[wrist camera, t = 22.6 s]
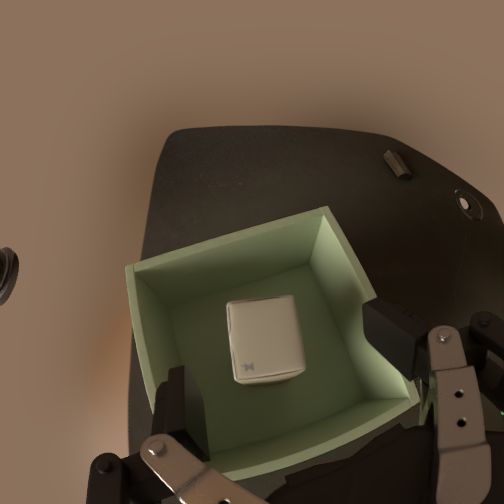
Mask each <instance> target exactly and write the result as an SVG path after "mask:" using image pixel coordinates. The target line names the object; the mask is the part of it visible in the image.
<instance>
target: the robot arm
mask: <svg viewBox="0 0 504 504" xmlns="http://www.w3.org/2000/svg"><path fill="white" fill-rule="evenodd" d="M9 268H10V259H9V256H8V254H7V253H5V252H4V251H2V250H1V249H0V291H1V289H2V288H3V286H4V284H5V282H6V280H7V277H8V273H9ZM362 317H363V332H364V336H365V338H366V340H367V342H368V343H369V344H370V345H371V346H372V347H373V348H374V349H375V350H376V351H378V352H379V353H380V354H381V355H382V356H383V357H384V358H385V359H386V360H387V361H388V362H389V363H390V364H391V365H392V366H393V367H394V368H395V369H397V370H398V371H399V372H400V373H401V374H402V375H403V376H404V377H405V378H406V379H407V380H408V381H409V382H411V381H412V380H414V379H415V378H417V377H419V378H420V379H421V381H420V419H419V424H418V426H413V427H409V428H406V429H404V428H403V427H402V425H401V424H400V423H399V424H397V425H396V426H394V427H392V428H391V429H389V430H387V431H386V432H384V433H382V434H380V435H379V436H377V437H375V438H374V439H373V440H371V441H370V442H369V443H368V444H367V445H365V446H364V447H363V448H362V449H361V450H359V451H358V452H357V453H356V454H354V455H353V456H352V457H350V458H348V459H344V460H339V461H335V462H330V463H325V464H320V465H315V466H312V467H310V468H307V469H304V470H302V471H299V472H296V473H293V474H290V475H287V476H285V479H286V482H287V483H286V484H284V485H282V486H281V487H279V488H278V489H276V490H275V491H274V492H273V493H271V494H270V495H269V496H268V497H267V498H266V499H265V500H262V499H261V498H259V497H257V496H255V495H254V494H252V493H250V492H249V491H247V490H246V489H244V488H242V487H241V486H239V485H238V484H236V483H235V482H233V481H232V480H230V479H229V478H227V477H226V476H224V475H223V474H221V473H220V472H219V471H217V470H216V469H214V468H213V467H211V466H209V467H208V466H207V465H205V464H204V463H203V462H208V461H210V453H209V446H208V437H207V429H206V420H205V410H204V401H203V397H202V394H201V391H200V389H199V387H198V385H197V383H196V382H195V380H194V378H193V376H192V374H191V372H190V370H189V368H188V366H187V365H182V366H178V367H174V368H170V369H169V371H168V381H165V382H161V384H160V385H159V387H158V389H157V390H156V394H155V403H154V412H153V422H152V433H151V437H149V438H148V439H146V440H145V441H144V442H143V444H142V446H141V448H140V452H138V453H136V454H133V455H131V456H128V457H125V458H122V459H120V458H119V457H118V456H117V455H115V454H113V453H103V454H101V455H99V456H97V457H96V458H95V459H94V460H93V462H92V464H91V467H90V474H89V481H88V489H87V499H86V504H161V500H162V499H165V498H168V497H171V496H173V495H175V496H176V497H177V498H178V499H179V500H180V501H181V502H182V503H183V504H504V432H496V431H485V428H484V419H483V411H482V405H481V398H480V393H479V391H480V392H481V393H482V394H484V395H485V396H486V397H487V398H488V399H489V400H490V401H491V402H492V403H493V404H494V405H495V406H496V407H497V408H498V409H499V410H500V411H502V412H503V413H504V369H502V368H501V367H500V366H499V365H497V364H496V363H495V362H493V361H492V360H491V359H490V358H488V357H489V354H490V351H492V352H493V353H495V354H496V355H497V356H499V357H500V358H501V359H502V360H503V361H504V320H502V319H501V318H499V317H498V316H496V315H494V314H492V313H490V312H487V311H480V312H477V313H475V314H473V315H472V317H471V320H470V325H469V326H467V327H464V328H461V329H459V330H456V329H455V328H453V327H451V326H445V325H443V326H437V327H433V326H432V325H430V324H429V323H427V322H426V321H424V320H423V319H421V318H419V317H418V316H416V315H414V314H413V313H412V312H410V311H408V310H407V309H406V308H404V307H402V306H401V305H398V304H394V303H387V302H385V301H384V300H382V299H381V298H379V297H376V298H374V299H372V300H369V301H367V302H365V303H363V305H362Z"/></svg>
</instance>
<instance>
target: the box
mask: <svg viewBox="0 0 504 504" xmlns="http://www.w3.org/2000/svg"><path fill="white" fill-rule="evenodd" d="M227 321H228V331H229V341H230V350H231V357H232V365H233V372H234V379H235V381H237V382H239V383H240V384H242V385H244V386H245V387H257V386H266V385H273V384H279V383H284V382H288V381H290V380H291V379H293V378H294V377H296V376H298V375H299V374H300V373H302V372H303V371H305V370H306V362H305V354H304V347H303V341H302V336H301V330H300V324H299V320H298V314H297V310H296V305H295V301H294V297H293V295H285V296H276V297H266V298H257V299H247V300H239V301H230V302H228V303H227Z"/></svg>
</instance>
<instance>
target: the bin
mask: <svg viewBox="0 0 504 504" xmlns="http://www.w3.org/2000/svg"><path fill="white" fill-rule="evenodd" d="M125 270H126V280H127V288H128V296H129V304H130V311H131V317H132V324H133V330H134V335H135V341H136V346H137V351H138V356H139V361H140V365H141V370H142V374H143V378H144V383H145V387H146V390H147V394H148V398H149V402H150V405H151V409H152V412H154V403H155V394H156V390H157V389H158V387H159V385H160V384H161V382H165V381H168V371H169V369H170V368H174V367H178V366H182V365H187V366H188V368H189V370H190V372H191V374H192V376H193V378H194V380H195V382H196V383H197V385H198V387H199V389H200V391H201V394H202V397H203V401H204V410H205V420H206V429H207V437H208V446H209V453H210V461H208V462H203V463H204V464H205V465H207V466H208V467H209V466H211V467H213V468H214V469H216V470H217V471H219V472H220V473H221V474H223V475H224V476H226V477H227V478H229V479H230V480H232V481H236V480H241V479H245V478H249V477H253V476H257V475H261V474H264V473H268V472H272V471H275V470H278V469H281V468H285V467H288V466H291V465H294V464H296V463H299V462H302V461H305V460H308V459H310V458H313V457H315V456H318V455H320V454H323V453H325V452H328V451H330V450H332V449H335V448H337V447H339V446H341V445H343V444H346V443H348V442H350V441H352V440H354V439H356V438H358V437H360V436H362V435H364V434H366V433H368V432H370V431H372V430H373V429H375V428H377V427H379V426H381V425H382V424H384V423H386V422H388V421H389V420H391V419H393V418H394V417H396V416H398V415H399V414H401V413H402V412H404V411H406V410H407V409H409V408H410V407H412V406H414V405H415V404H416V403H418V402H419V401H420V398H419V395H418V392H417V389H416V387H415V384H414V381H413V380H412V381H411V382H409V381H408V380H407V379H406V378H405V377H404V376H403V375H402V374H401V373H400V372H399V371H398V370H397V369H395V368H394V367H393V366H392V365H391V364H390V363H389V362H388V361H387V360H386V359H385V358H384V357H383V356H382V355H381V354H380V353H379V352H378V351H376V350H375V349H374V348H373V347H372V346H371V345H370V344H369V343H368V342H367V340H366V338H365V336H364V332H363V317H362V305H363V303H365V302H367V301H369V300H372V299H374V298H376V297H377V296H376V293H375V291H374V289H373V287H372V285H371V283H370V281H369V279H368V278H367V276H366V274H365V272H364V270H363V268H362V266H361V264H360V262H359V260H358V258H357V257H356V255H355V253H354V251H353V249H352V247H351V246H350V244H349V242H348V240H347V238H346V237H345V235H344V233H343V231H342V230H341V228H340V226H339V224H338V223H337V221H336V219H335V218H334V216H333V214H332V213H331V211H330V209H329V208H328V206H325V207H321V208H318V209H314V210H311V211H307V212H304V213H300V214H296V215H293V216H289V217H286V218H282V219H279V220H275V221H272V222H268V223H265V224H261V225H258V226H254V227H251V228H247V229H244V230H241V231H237V232H234V233H231V234H227V235H224V236H220V237H217V238H214V239H211V240H207V241H204V242H201V243H197V244H194V245H191V246H188V247H184V248H181V249H178V250H175V251H172V252H168V253H165V254H162V255H159V256H156V257H153V258H150V259H146V260H143V261H140V262H137V263H134V264H131V265H128V266H126V267H125ZM285 295H293V297H294V301H295V305H296V310H297V314H298V320H299V324H300V330H301V336H302V341H303V347H304V354H305V362H306V370H305V371H303V372H302V373H300V374H299V375H298V376H296V377H294V378H293V379H291V380H290V381H288V382H284V383H279V384H273V385H266V386H257V387H245V386H244V385H242V384H240V383H239V382H237V381H235V379H234V372H233V365H232V357H231V350H230V341H229V331H228V321H227V303H228V302H230V301H239V300H247V299H257V298H266V297H276V296H285Z"/></svg>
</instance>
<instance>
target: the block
mask: <svg viewBox="0 0 504 504" xmlns="http://www.w3.org/2000/svg"><path fill="white" fill-rule="evenodd" d="M383 158H384V159H385V161H386V162H387V163H388V165H389V166H390V167H391V169H392V170H393V171H394V173H395V174H396V175H397V177H398V178H402V179H412V177H413V176H412V174H411V172H410V171H409V169H408V168H407V166H406V165H405V163H404V162H403V160H402V158H401V157H400V156H399V155H398V154H397V153H396V152H395V151H392V150H391V151H387V152H386V154H385V155H384V157H383Z"/></svg>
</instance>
